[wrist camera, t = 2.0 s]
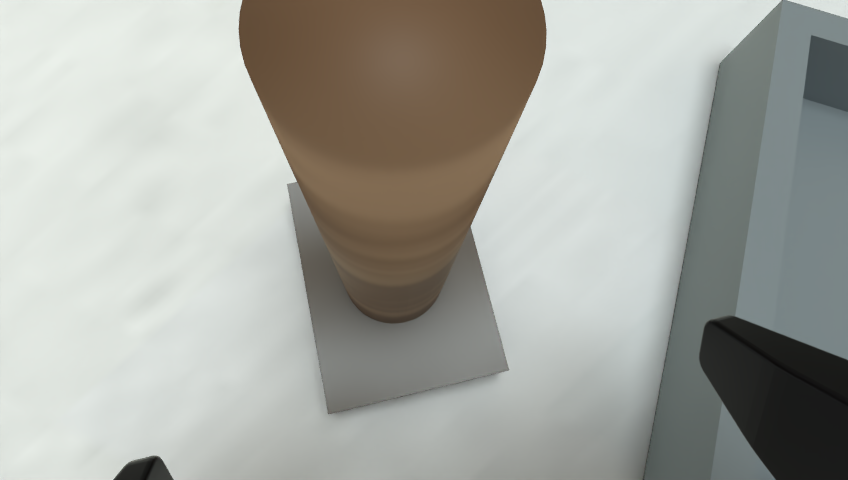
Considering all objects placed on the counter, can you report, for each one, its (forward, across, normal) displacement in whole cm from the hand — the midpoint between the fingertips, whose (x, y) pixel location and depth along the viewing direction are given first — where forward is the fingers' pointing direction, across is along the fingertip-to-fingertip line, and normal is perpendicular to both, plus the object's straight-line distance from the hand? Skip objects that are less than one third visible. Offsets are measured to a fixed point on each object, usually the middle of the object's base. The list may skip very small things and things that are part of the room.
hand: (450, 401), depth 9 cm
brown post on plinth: (+11, 0, +5) cm, 12 cm away
